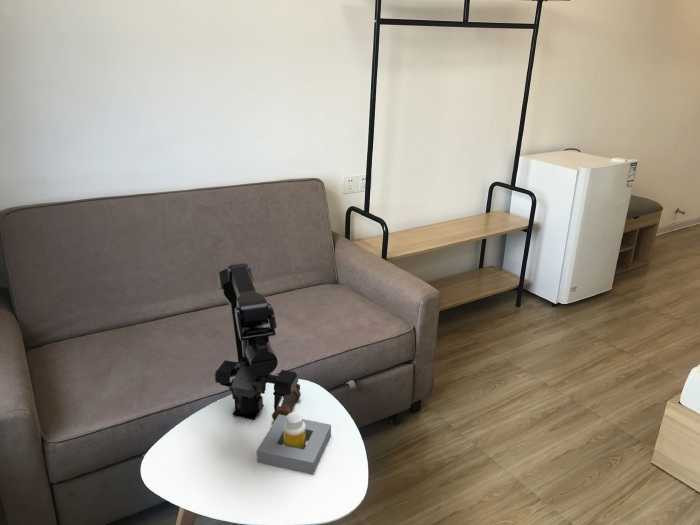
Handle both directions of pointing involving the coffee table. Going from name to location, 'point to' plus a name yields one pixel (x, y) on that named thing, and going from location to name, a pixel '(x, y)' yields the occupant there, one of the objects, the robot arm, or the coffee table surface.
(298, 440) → the supplement bottle
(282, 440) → the socket block
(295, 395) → the bolt
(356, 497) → the coffee table surface
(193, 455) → the coffee table surface
